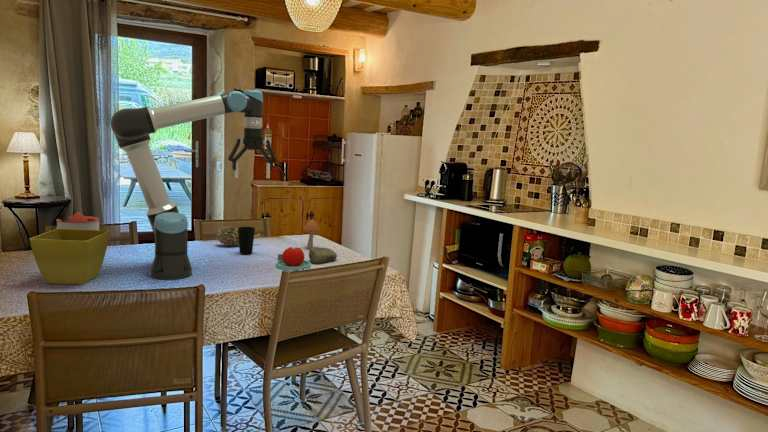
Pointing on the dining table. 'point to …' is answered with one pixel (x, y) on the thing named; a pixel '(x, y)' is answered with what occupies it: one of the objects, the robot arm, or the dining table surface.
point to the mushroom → (311, 232)
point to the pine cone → (229, 236)
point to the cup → (246, 240)
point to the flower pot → (70, 254)
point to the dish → (283, 266)
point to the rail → (279, 257)
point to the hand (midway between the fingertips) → (252, 178)
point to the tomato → (293, 256)
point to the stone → (321, 255)
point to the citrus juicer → (79, 222)
